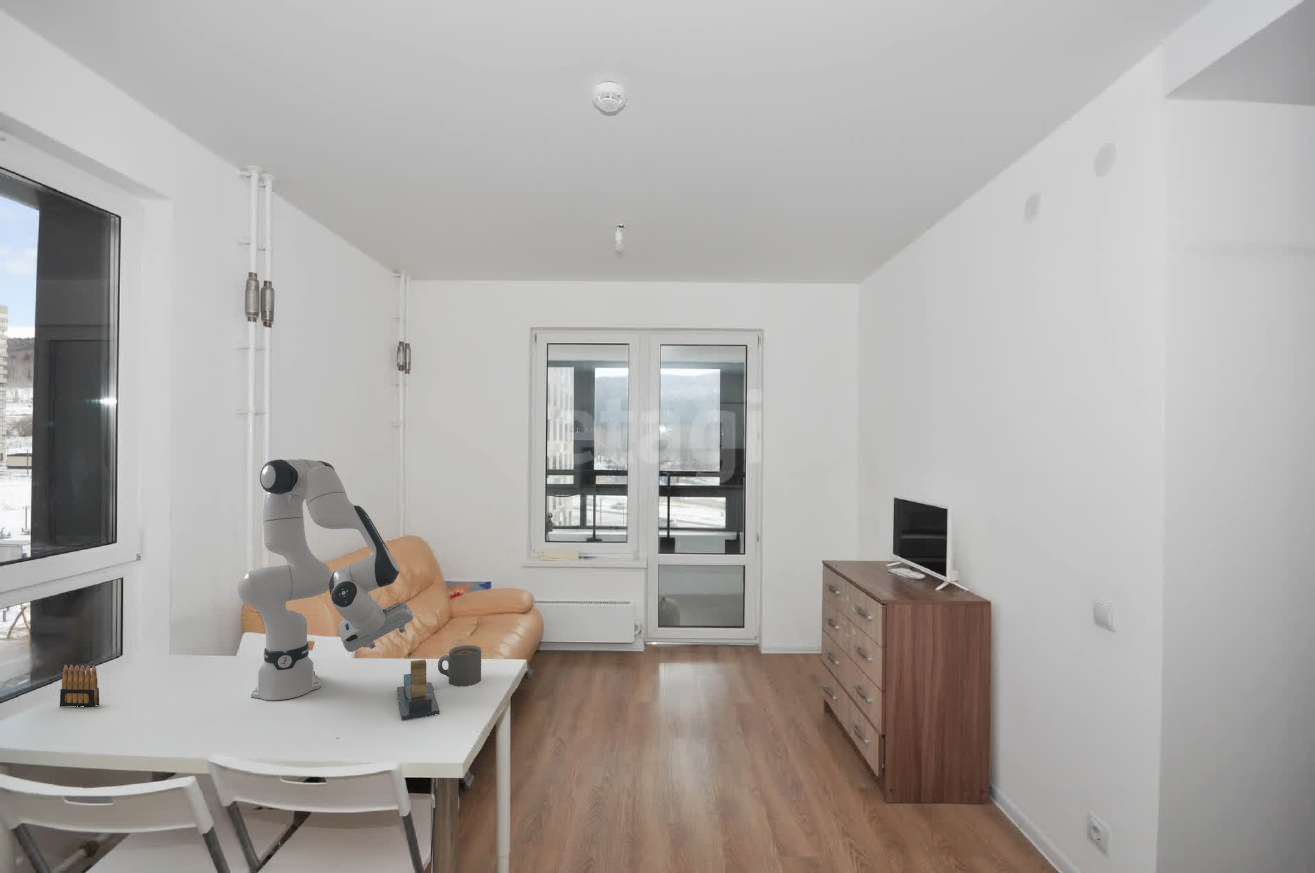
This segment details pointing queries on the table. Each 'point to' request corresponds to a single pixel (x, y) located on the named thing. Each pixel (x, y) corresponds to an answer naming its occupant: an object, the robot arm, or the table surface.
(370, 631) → the robot arm
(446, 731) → the table surface
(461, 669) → the coffee mug
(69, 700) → the ammunition clip
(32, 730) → the table surface
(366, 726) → the table surface
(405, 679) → the block
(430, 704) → the vise
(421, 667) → the oak block
